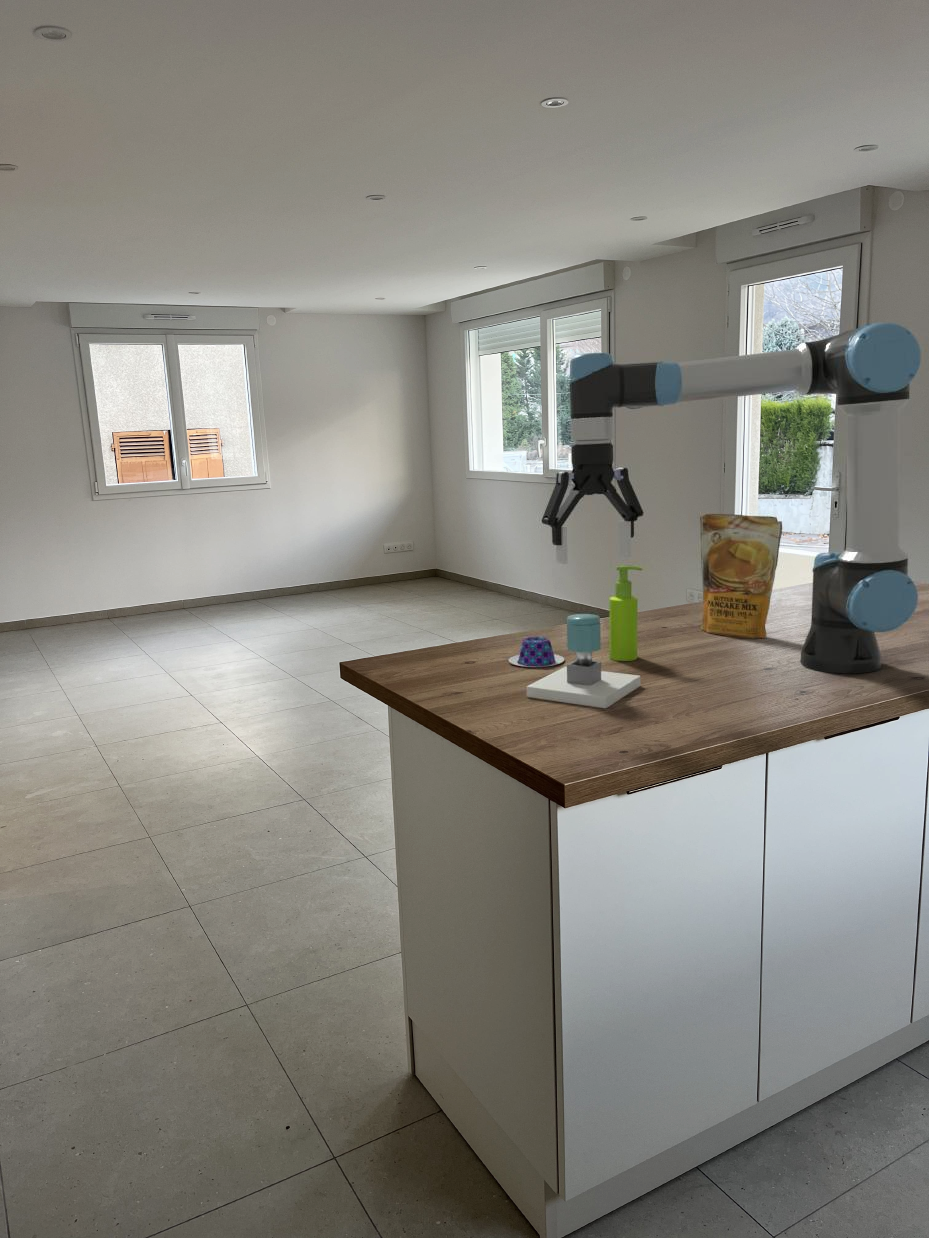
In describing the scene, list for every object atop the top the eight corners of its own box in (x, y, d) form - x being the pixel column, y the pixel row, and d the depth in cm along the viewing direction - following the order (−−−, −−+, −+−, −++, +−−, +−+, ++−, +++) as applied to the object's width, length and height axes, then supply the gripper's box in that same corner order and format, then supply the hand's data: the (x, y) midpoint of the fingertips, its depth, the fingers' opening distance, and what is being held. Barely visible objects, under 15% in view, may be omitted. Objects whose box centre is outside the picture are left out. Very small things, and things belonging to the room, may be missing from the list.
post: (595, 672, 170) (595, 621, 168) (588, 677, 168) (587, 624, 166) (580, 671, 172) (579, 619, 170) (572, 675, 169) (572, 623, 167)
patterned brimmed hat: (538, 673, 186) (538, 648, 184) (497, 664, 194) (496, 640, 193) (575, 661, 194) (575, 638, 193) (534, 653, 202) (533, 630, 201)
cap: (566, 645, 172) (566, 614, 171) (599, 644, 171) (598, 613, 170) (567, 652, 166) (567, 620, 165) (601, 652, 165) (601, 620, 164)
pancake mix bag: (704, 626, 222) (706, 512, 216) (779, 635, 209) (784, 515, 204) (691, 631, 217) (693, 515, 211) (767, 641, 204) (772, 517, 199)
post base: (640, 685, 173) (640, 658, 172) (605, 708, 160) (605, 678, 159) (565, 676, 181) (564, 649, 180) (526, 696, 168) (526, 668, 167)
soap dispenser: (642, 661, 191) (642, 567, 187) (609, 660, 192) (608, 568, 188) (642, 654, 196) (642, 563, 192) (610, 654, 198) (610, 564, 194)
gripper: (638, 439, 171) (639, 550, 175) (520, 446, 161) (524, 563, 166) (662, 439, 164) (662, 554, 168) (540, 445, 154) (544, 568, 159)
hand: (594, 559), depth 167 cm, fingers open, 13 cm apart
